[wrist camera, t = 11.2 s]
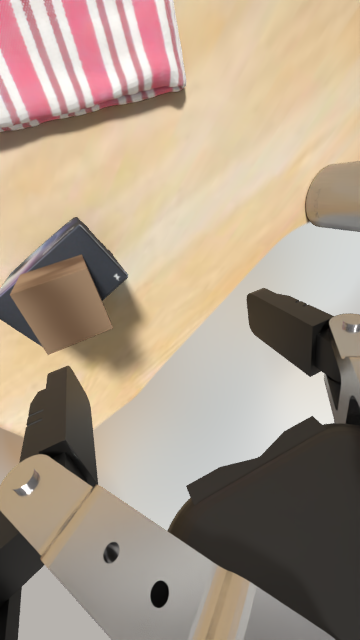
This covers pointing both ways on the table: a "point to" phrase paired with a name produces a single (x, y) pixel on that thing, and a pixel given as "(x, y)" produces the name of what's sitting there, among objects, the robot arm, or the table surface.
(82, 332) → the walnut block
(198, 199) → the table surface
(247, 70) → the table surface
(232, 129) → the table surface
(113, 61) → the dish towel
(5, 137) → the table surface
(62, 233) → the small box
